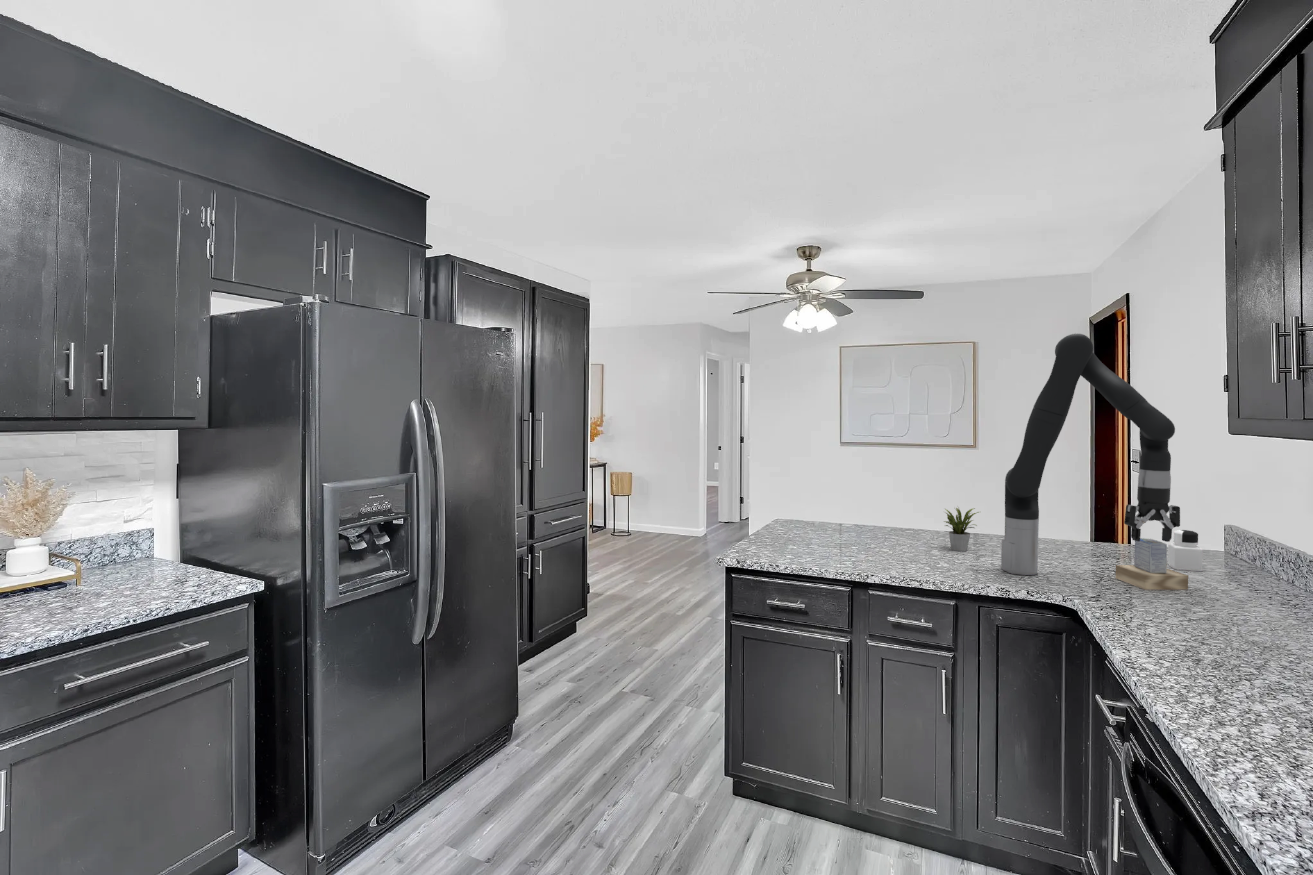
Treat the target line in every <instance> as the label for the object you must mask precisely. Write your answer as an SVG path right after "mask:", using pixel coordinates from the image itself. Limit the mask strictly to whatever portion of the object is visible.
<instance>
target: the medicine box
mask: <svg viewBox="0 0 1313 875" xmlns="http://www.w3.org/2000/svg"><path fill="white" fill-rule="evenodd" d="M1167 549H1168V544H1167V543H1165V542H1164V541H1163V542H1162V541H1160V540H1156V539H1153V538H1145V537H1140V541H1134V560H1133V561H1134V562H1133V563H1134V566H1135V567H1137V568H1140V569H1142V570H1145V571H1147V572H1150V573H1164V574H1165V573H1167V569H1168V568H1167V565H1168V550H1167Z"/></svg>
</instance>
